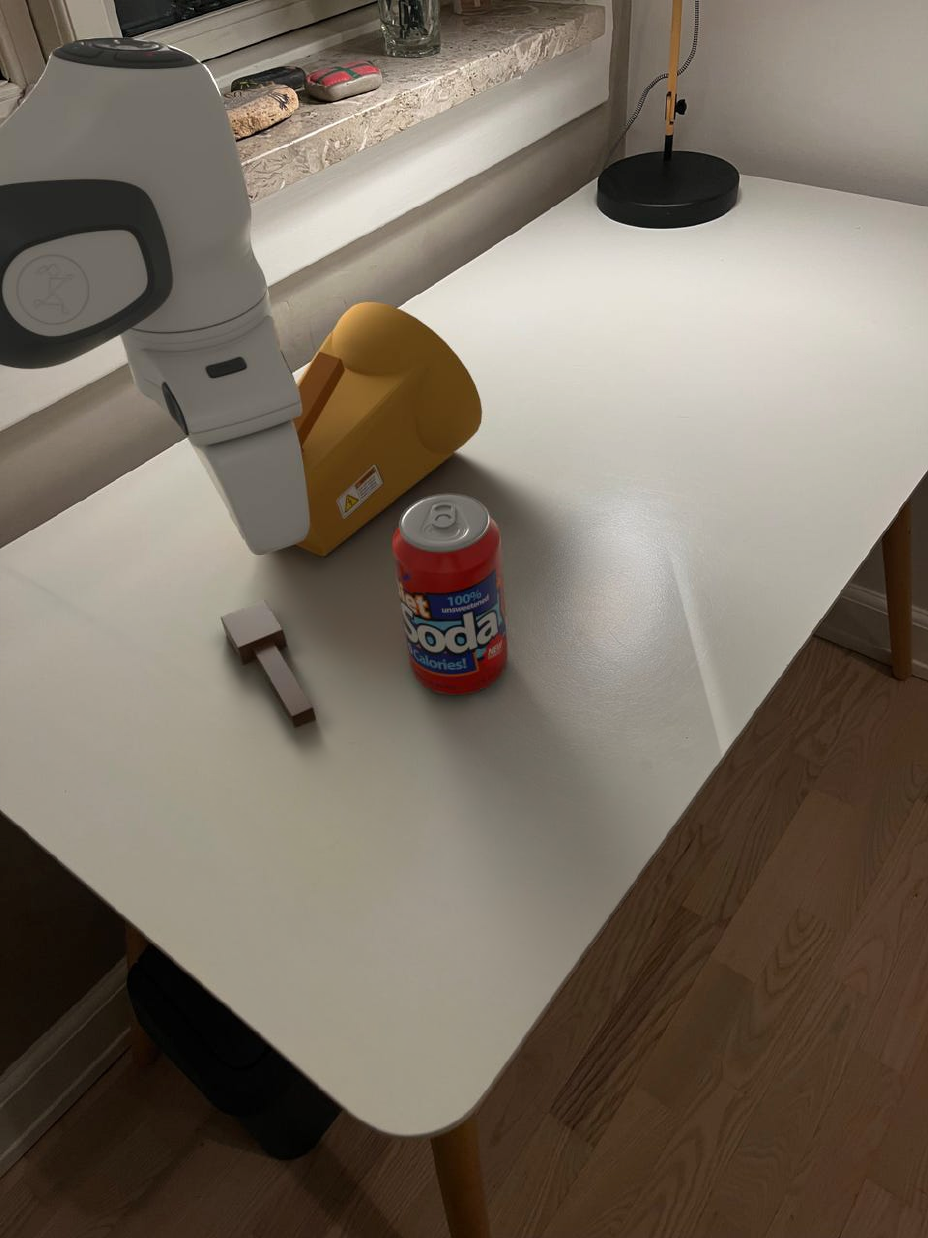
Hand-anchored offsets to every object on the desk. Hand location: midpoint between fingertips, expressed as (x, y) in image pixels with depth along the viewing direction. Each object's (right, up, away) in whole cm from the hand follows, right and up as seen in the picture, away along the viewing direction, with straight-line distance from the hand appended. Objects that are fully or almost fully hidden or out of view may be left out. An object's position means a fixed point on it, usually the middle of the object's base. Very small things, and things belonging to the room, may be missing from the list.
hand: (249, 527), depth 70 cm
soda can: (+14, -10, +13) cm, 22 cm away
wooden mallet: (-1, -10, +14) cm, 18 cm away
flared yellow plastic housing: (+5, +6, +31) cm, 32 cm away
